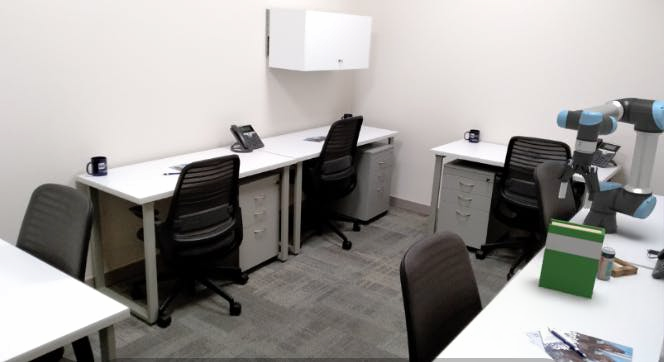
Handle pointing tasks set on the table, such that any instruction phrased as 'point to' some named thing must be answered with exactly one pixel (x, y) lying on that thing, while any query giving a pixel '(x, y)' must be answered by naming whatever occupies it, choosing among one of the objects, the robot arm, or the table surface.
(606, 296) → the table surface
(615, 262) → the picture frame
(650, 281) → the table surface
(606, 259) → the beer can
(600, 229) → the hardback book
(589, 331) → the table surface
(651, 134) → the robot arm
